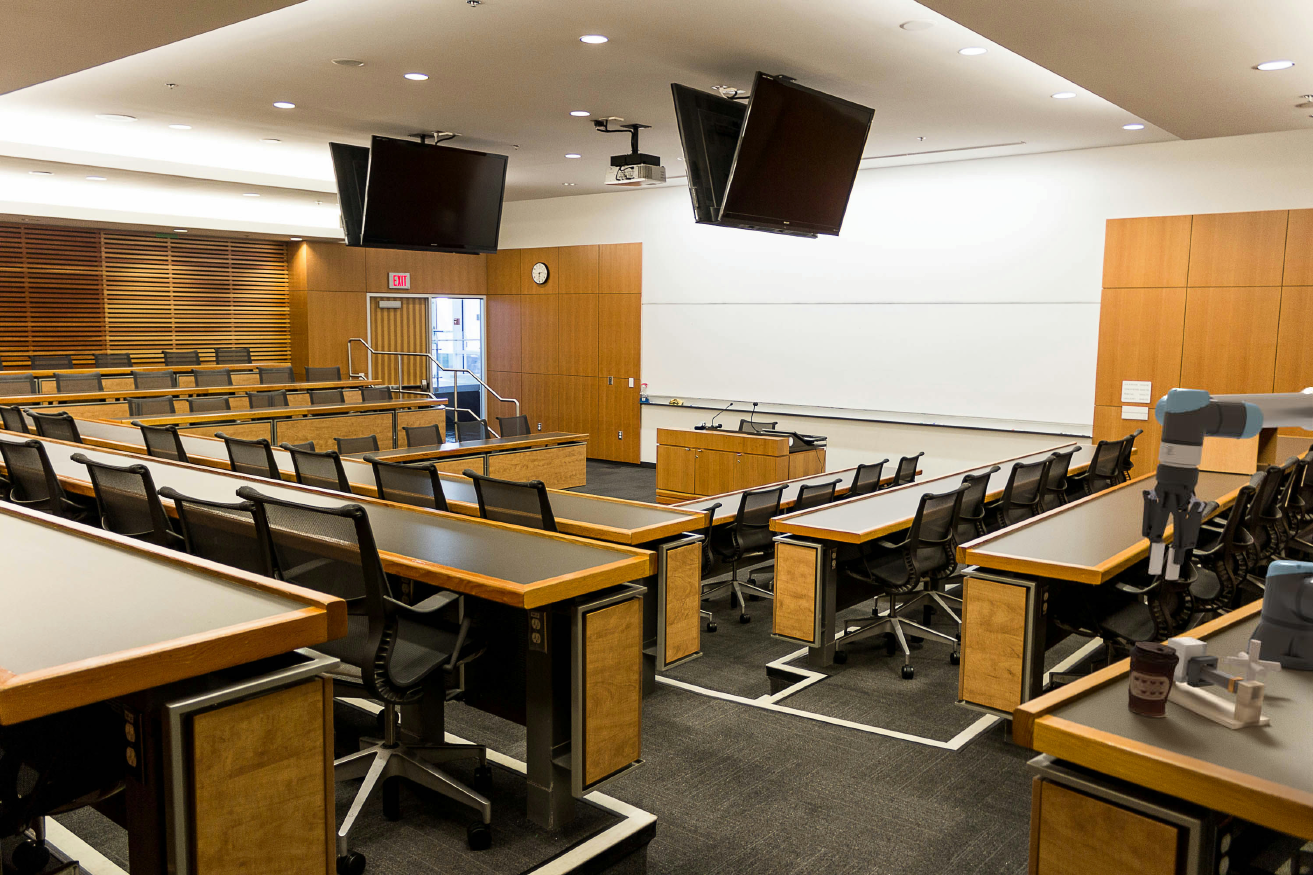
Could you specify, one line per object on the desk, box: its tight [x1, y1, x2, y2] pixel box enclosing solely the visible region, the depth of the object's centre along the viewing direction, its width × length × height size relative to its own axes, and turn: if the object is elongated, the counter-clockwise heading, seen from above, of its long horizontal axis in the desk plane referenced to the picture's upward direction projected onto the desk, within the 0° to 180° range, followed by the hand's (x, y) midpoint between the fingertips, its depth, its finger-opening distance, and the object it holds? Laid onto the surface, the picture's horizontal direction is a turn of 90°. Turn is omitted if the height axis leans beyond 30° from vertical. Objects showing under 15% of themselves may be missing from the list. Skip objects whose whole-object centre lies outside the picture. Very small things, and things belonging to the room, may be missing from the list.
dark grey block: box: [1187, 655, 1219, 688], centre depth 182 cm, size 6×2×6 cm, turn 111°
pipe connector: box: [1224, 640, 1282, 682], centre depth 194 cm, size 10×10×10 cm
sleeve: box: [1166, 636, 1208, 683], centre depth 186 cm, size 6×4×8 cm, turn 111°
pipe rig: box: [1167, 660, 1271, 730], centre depth 182 cm, size 10×20×8 cm, turn 21°
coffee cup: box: [1127, 641, 1179, 718], centre depth 176 cm, size 9×8×13 cm
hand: (1163, 576), depth 191 cm, fingers open, 3 cm apart
